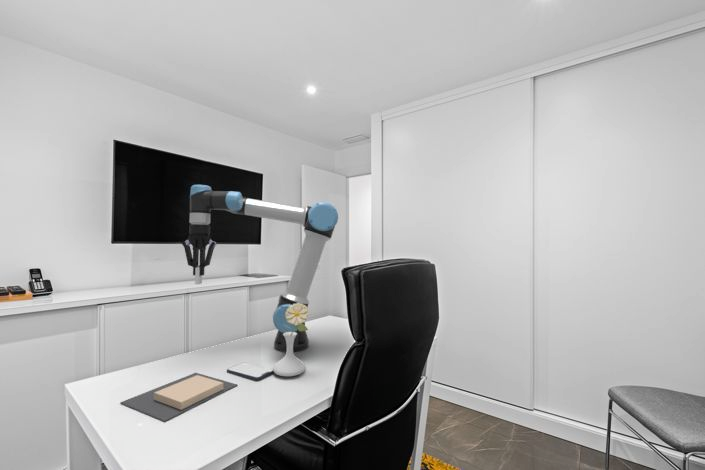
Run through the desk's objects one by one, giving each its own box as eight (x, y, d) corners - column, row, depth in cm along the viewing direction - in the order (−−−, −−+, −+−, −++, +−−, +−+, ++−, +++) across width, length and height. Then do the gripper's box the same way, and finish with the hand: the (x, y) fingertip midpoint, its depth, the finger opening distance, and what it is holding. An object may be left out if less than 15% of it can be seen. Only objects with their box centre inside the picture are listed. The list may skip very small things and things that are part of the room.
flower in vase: (266, 376, 111) (267, 303, 111) (284, 365, 121) (285, 298, 122) (299, 382, 106) (301, 306, 107) (315, 370, 117) (316, 301, 118)
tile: (197, 375, 105) (223, 382, 99) (197, 382, 105) (223, 390, 99) (154, 392, 92) (181, 402, 87) (153, 400, 92) (181, 411, 87)
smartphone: (224, 374, 114) (257, 383, 106) (224, 369, 114) (257, 378, 106) (244, 366, 122) (276, 374, 114) (244, 361, 122) (276, 369, 114)
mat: (195, 373, 112) (195, 372, 112) (237, 385, 103) (237, 384, 103) (120, 403, 91) (120, 402, 91) (164, 422, 82) (164, 420, 82)
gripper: (220, 225, 132) (218, 282, 132) (187, 224, 132) (185, 282, 131) (213, 224, 125) (211, 285, 124) (178, 223, 124) (176, 285, 123)
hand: (198, 283), depth 128 cm, fingers closed
